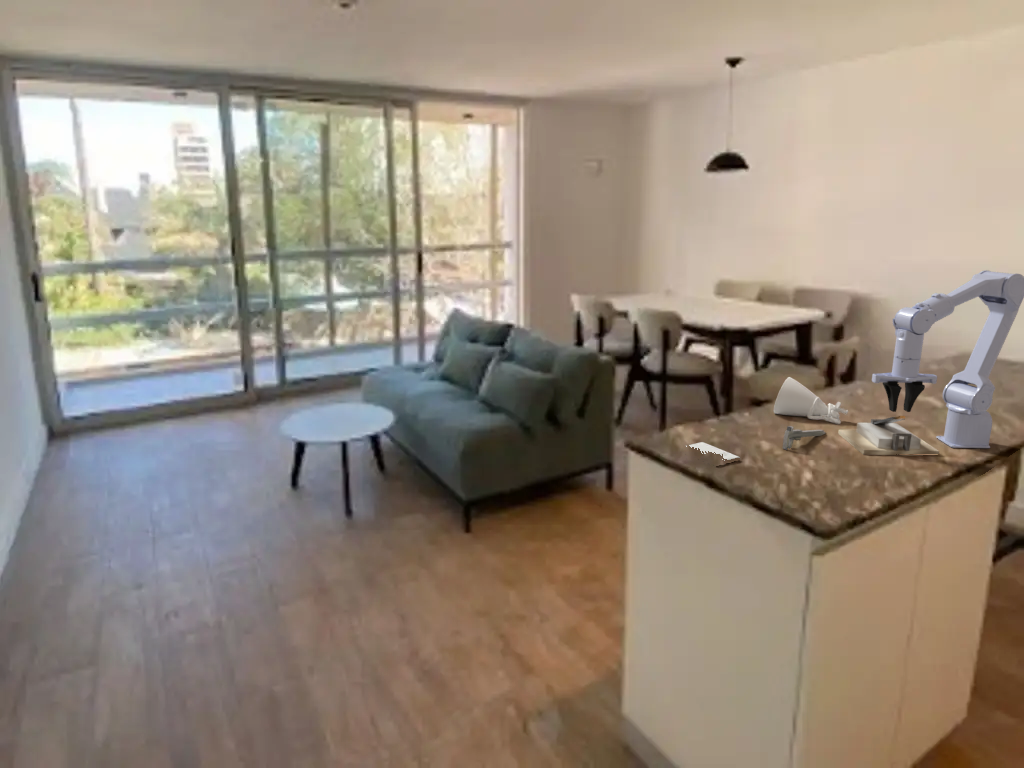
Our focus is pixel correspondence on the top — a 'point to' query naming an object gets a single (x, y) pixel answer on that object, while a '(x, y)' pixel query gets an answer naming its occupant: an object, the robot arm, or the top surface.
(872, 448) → the base board
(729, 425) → the top surface
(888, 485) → the top surface
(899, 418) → the grey flat bar
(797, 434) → the caliper
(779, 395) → the rocket engine
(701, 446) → the external hard drive
